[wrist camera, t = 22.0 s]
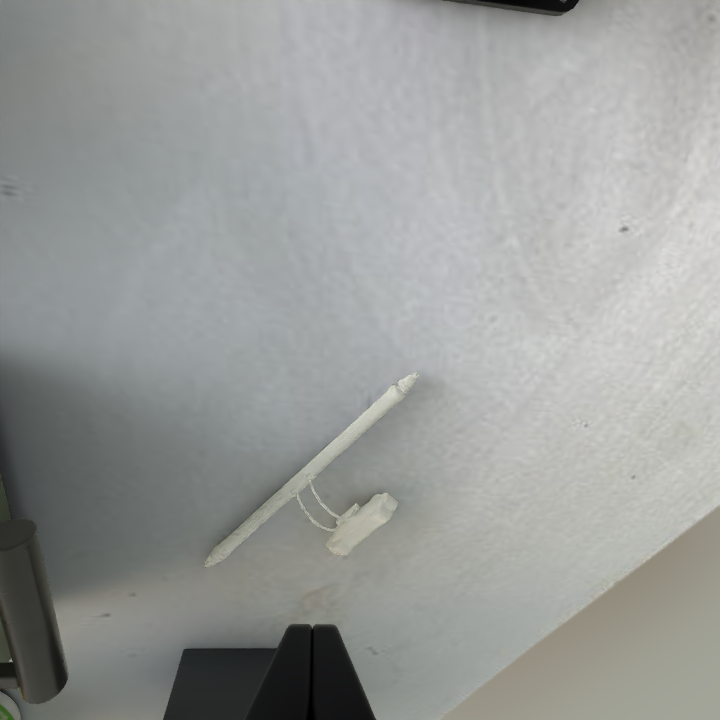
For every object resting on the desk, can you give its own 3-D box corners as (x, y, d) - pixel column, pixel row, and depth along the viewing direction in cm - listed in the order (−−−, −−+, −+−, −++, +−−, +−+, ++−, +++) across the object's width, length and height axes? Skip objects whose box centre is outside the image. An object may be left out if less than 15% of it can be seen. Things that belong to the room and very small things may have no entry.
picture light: (410, 364, 19) (420, 386, 18) (475, 425, 21) (490, 452, 19) (201, 556, 23) (189, 592, 21) (269, 598, 24) (264, 636, 22)
